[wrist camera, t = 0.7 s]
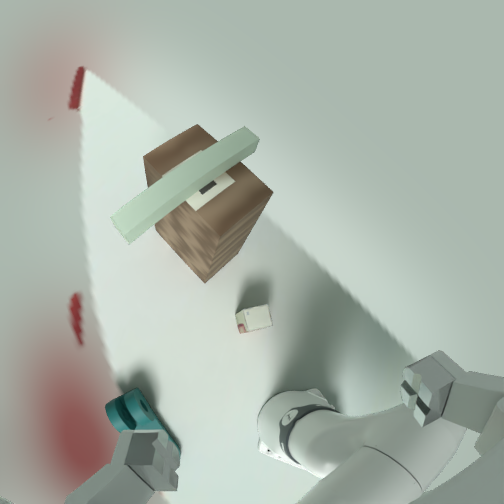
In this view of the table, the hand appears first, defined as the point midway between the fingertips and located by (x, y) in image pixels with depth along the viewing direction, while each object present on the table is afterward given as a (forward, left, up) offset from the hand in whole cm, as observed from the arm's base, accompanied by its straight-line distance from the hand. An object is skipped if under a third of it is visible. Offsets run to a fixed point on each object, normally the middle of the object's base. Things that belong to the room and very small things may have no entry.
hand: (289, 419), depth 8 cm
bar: (+19, -13, -23) cm, 32 cm away
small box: (-1, -12, -49) cm, 51 cm away
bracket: (-3, +20, -49) cm, 53 cm away
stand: (+19, -16, -49) cm, 55 cm away
